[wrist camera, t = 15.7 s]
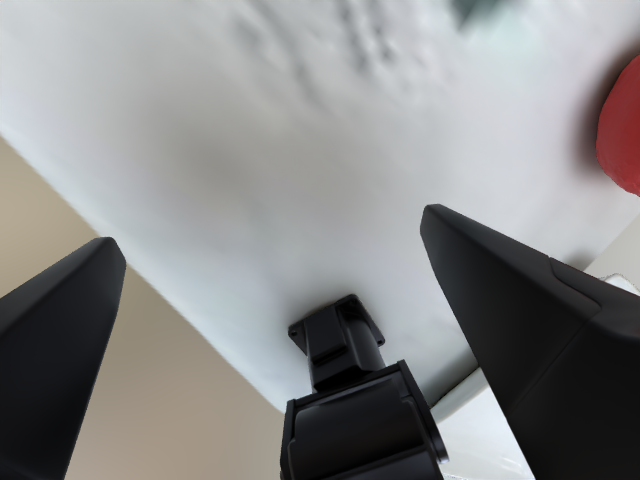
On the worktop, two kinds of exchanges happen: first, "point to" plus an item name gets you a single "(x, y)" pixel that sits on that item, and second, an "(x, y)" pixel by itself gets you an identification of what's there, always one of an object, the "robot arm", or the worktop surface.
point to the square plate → (485, 427)
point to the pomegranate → (622, 130)
